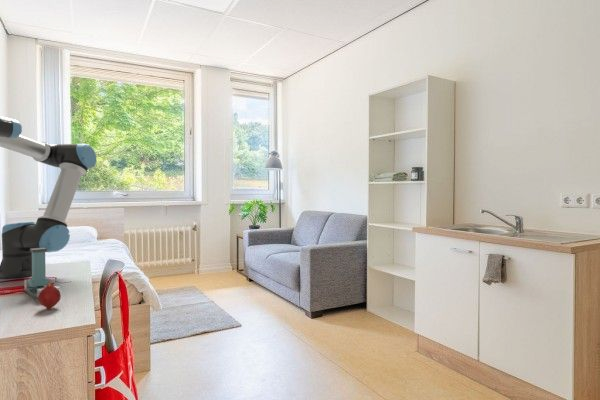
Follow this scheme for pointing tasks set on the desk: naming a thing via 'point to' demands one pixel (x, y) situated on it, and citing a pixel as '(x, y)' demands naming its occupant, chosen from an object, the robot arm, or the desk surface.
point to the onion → (49, 296)
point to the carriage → (38, 268)
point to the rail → (35, 289)
